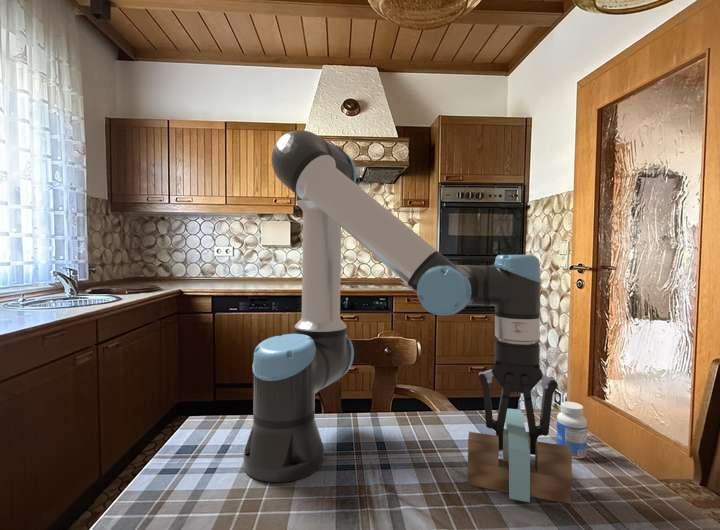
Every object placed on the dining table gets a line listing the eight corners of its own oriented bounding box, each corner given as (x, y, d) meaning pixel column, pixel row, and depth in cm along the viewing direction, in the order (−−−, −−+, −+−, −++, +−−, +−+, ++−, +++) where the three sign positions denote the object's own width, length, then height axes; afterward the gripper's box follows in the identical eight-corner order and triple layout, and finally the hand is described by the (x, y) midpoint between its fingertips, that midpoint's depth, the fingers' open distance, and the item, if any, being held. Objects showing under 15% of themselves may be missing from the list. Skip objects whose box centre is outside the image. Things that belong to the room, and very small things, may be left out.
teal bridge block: (509, 498, 62) (509, 448, 62) (505, 447, 79) (505, 408, 79) (529, 502, 61) (530, 451, 61) (521, 449, 78) (521, 410, 78)
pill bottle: (555, 443, 82) (556, 398, 82) (584, 449, 80) (585, 402, 79) (557, 455, 77) (558, 407, 77) (588, 461, 75) (589, 411, 74)
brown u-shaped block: (467, 484, 67) (468, 438, 67) (468, 475, 70) (469, 431, 69) (571, 504, 62) (571, 454, 61) (567, 493, 64) (568, 445, 64)
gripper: (469, 340, 68) (468, 471, 69) (571, 347, 63) (569, 489, 64) (471, 333, 76) (470, 451, 76) (562, 338, 70) (561, 465, 71)
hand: (515, 468), depth 70 cm, fingers closed on teal bridge block, 3 cm apart
